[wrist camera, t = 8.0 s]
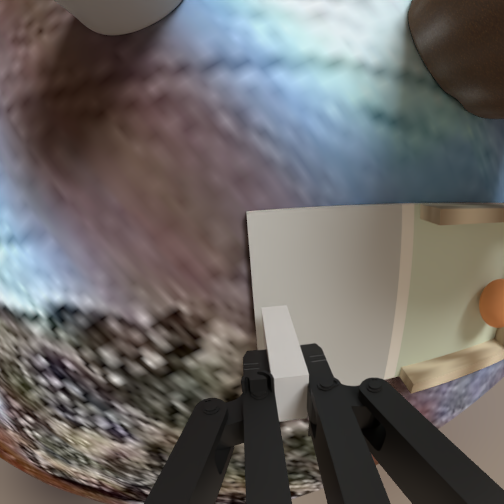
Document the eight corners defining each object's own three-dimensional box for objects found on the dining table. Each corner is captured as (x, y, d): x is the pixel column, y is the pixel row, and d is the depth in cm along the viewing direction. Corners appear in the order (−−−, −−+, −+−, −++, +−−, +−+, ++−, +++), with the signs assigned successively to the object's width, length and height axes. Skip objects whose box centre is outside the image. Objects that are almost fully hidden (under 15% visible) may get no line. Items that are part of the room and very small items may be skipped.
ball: (497, 344, 16) (517, 326, 17) (515, 300, 15) (532, 286, 15) (465, 319, 20) (487, 305, 21) (478, 277, 18) (499, 266, 19)
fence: (396, 372, 22) (413, 397, 18) (415, 202, 18) (445, 210, 15) (494, 341, 22) (513, 358, 18) (518, 203, 18) (544, 209, 15)
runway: (261, 393, 22) (261, 398, 21) (246, 211, 18) (246, 212, 17) (494, 341, 22) (497, 344, 21) (518, 203, 18) (522, 204, 18)
